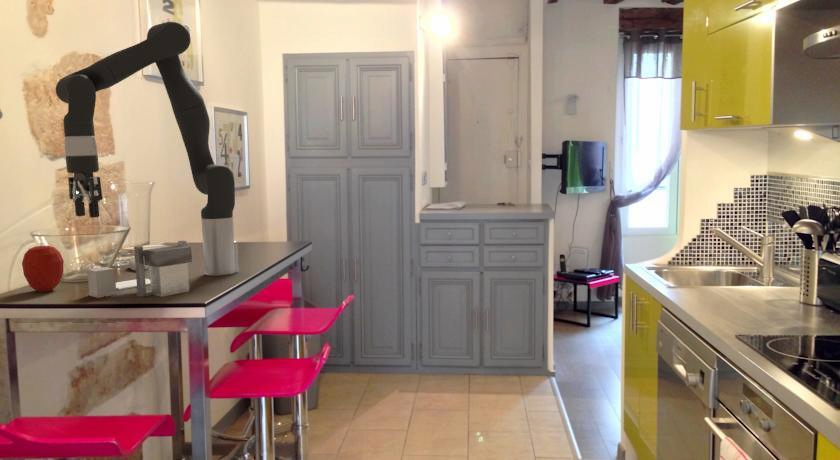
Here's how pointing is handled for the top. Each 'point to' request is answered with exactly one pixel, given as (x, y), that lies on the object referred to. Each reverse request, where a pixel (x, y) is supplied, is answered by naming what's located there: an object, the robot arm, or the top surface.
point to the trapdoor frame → (161, 276)
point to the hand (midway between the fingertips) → (87, 216)
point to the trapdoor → (163, 254)
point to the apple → (43, 268)
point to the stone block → (101, 282)
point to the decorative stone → (132, 265)
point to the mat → (130, 284)
